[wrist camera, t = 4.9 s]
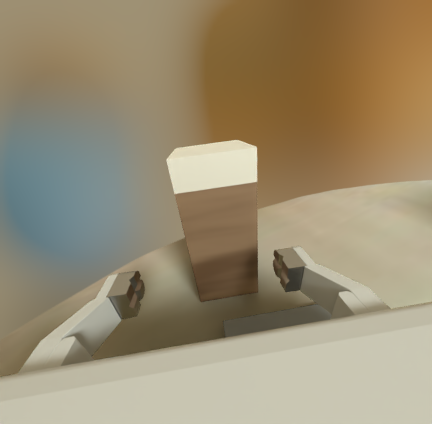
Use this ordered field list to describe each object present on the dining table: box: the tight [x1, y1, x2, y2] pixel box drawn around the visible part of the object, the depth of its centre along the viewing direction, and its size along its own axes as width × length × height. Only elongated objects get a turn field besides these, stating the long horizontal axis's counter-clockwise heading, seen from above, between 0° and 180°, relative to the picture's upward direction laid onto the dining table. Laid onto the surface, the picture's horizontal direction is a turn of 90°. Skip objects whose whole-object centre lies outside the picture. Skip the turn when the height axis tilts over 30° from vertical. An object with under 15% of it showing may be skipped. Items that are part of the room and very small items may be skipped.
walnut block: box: [167, 140, 258, 302], centre depth 14 cm, size 5×5×12 cm
